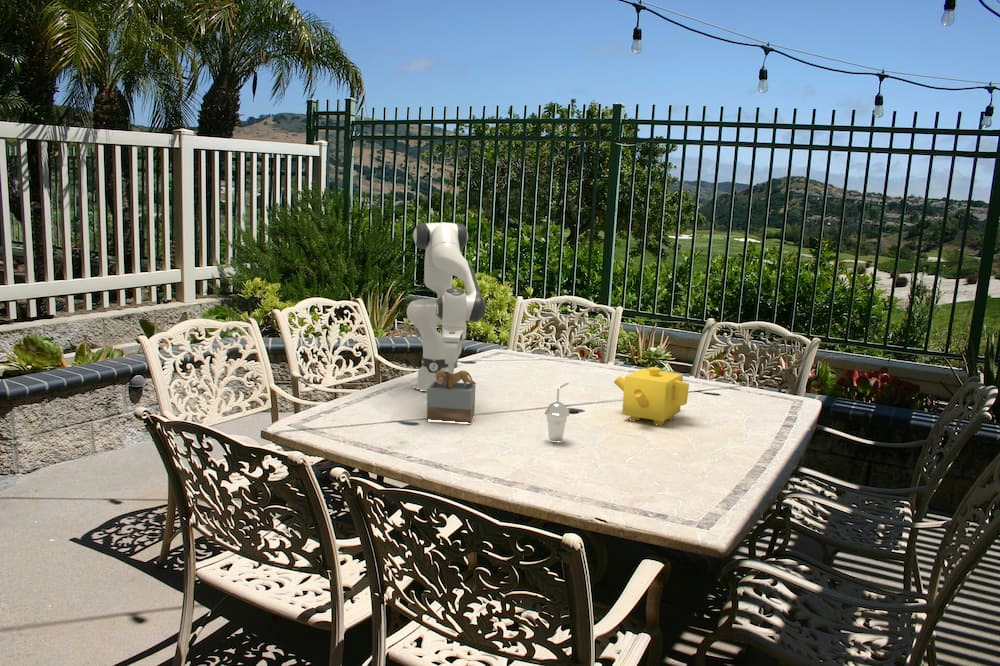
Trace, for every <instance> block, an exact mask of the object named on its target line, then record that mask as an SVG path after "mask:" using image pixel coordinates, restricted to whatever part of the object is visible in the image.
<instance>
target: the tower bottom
mask: <svg viewBox="0 0 1000 666" xmlns="http://www.w3.org/2000/svg"><path fill="white" fill-rule="evenodd" d="M475 407H476V402H475V403H474V404H473V406H472V408H471V409H470V410H464V409H448V408H433V407H427V406H426V420H427V419H431V420H442V421H455V422H468V423H471V424H472V422H471V420H472V418H473V416H474V417H475V411H476V410H475V409H476V408H475ZM473 419H474V418H473ZM472 421H473V420H472Z"/></svg>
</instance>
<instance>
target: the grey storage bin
mask: <svg viewBox="0 0 1000 666" xmlns="http://www.w3.org/2000/svg"><path fill="white" fill-rule="evenodd" d="M463 385H464V382H457V383H453V384H452V389H447V387H446V386H443V385H442V384H439V383H438V382H437V381H433V382H432V384H431V385H430V386H429V387H428V388H427V392H426V408H427V407H433V408H448V409H464V410H470V409H471V408H472V406H473V404H474V403H475V404H476V384H473V387H472V388H471V387H470V386H471V384H470V383H468V382H467V384H466V386H465V387H463V388H462V386H463Z"/></svg>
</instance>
